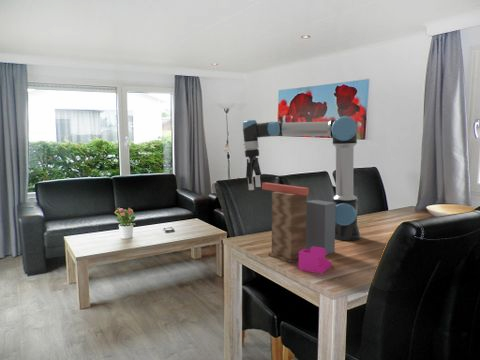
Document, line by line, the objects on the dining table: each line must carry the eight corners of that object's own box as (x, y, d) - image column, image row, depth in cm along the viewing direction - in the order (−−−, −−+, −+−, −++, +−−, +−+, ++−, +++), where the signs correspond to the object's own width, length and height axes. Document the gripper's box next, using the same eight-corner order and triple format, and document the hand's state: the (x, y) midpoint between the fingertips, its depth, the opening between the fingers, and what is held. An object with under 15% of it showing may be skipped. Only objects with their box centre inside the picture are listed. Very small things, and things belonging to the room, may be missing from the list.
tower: (268, 255, 183) (268, 192, 180) (285, 250, 191) (286, 189, 187) (291, 262, 173) (292, 195, 169) (308, 257, 181) (309, 192, 177)
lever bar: (262, 189, 189) (262, 182, 189) (266, 188, 191) (266, 182, 191) (304, 195, 170) (304, 188, 169) (308, 194, 172) (308, 187, 171)
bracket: (321, 274, 159) (322, 249, 158) (298, 269, 165) (298, 245, 164) (331, 265, 170) (332, 242, 168) (309, 261, 175) (310, 239, 174)
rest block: (304, 249, 192) (304, 201, 189) (314, 246, 197) (315, 199, 194) (324, 255, 183) (325, 204, 180) (334, 252, 188) (335, 202, 185)
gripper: (251, 149, 224) (254, 186, 226) (237, 150, 201) (241, 191, 202) (264, 148, 222) (267, 185, 223) (251, 149, 198) (255, 190, 200)
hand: (255, 188), depth 213 cm, fingers open, 13 cm apart
